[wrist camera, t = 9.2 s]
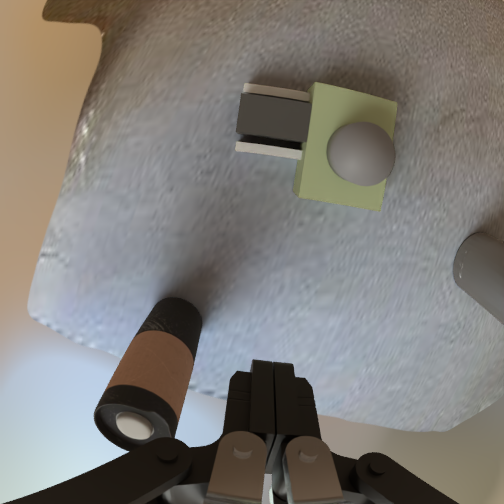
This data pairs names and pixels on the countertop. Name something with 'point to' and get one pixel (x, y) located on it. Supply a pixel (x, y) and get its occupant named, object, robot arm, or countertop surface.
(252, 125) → the dark grey box
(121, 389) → the travel mug
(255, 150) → the two-prong plug
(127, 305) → the countertop surface
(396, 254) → the countertop surface
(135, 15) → the countertop surface
